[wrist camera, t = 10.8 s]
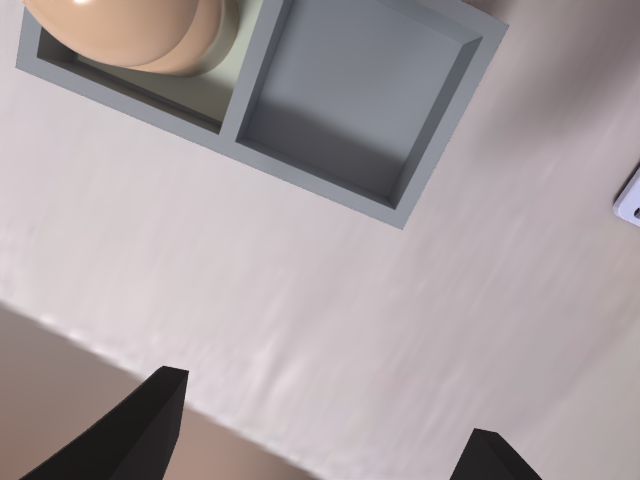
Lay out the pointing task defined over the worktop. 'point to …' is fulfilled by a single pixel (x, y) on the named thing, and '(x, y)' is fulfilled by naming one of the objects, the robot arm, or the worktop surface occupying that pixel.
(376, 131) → the divided tray
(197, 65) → the tan capsule
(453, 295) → the worktop surface
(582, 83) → the worktop surface
